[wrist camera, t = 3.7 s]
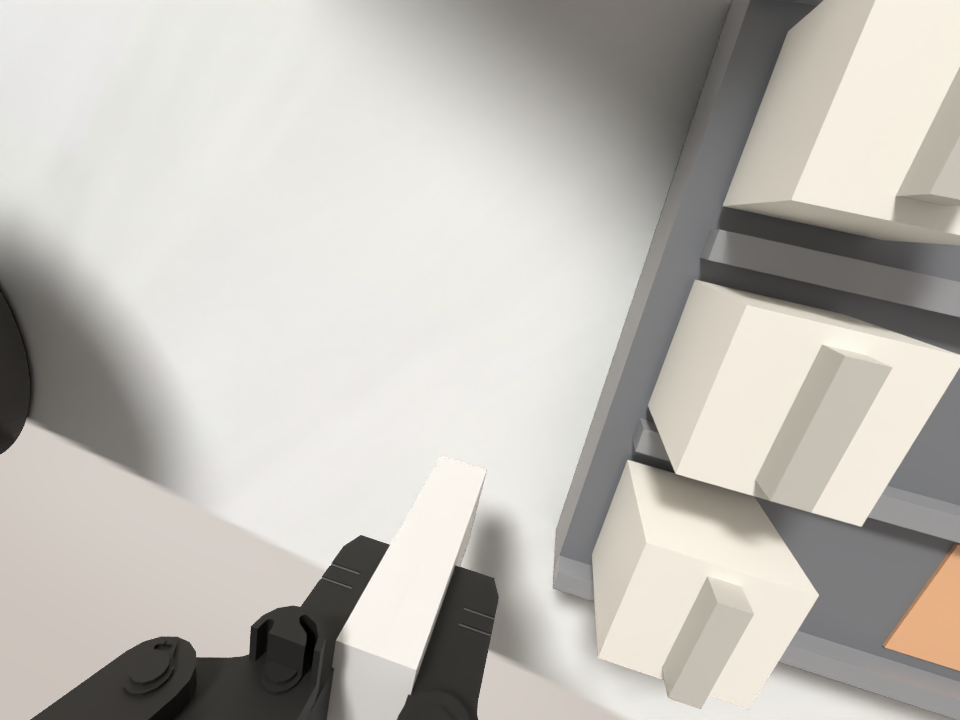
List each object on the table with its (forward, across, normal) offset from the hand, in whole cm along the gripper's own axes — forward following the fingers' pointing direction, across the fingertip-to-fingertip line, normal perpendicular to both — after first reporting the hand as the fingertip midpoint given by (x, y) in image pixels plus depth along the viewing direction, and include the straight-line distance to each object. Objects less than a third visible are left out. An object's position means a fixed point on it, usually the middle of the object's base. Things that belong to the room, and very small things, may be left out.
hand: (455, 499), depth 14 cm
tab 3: (+2, +7, 0) cm, 7 cm away
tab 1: (+2, +7, +12) cm, 14 cm away
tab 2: (+2, +7, +6) cm, 10 cm away
